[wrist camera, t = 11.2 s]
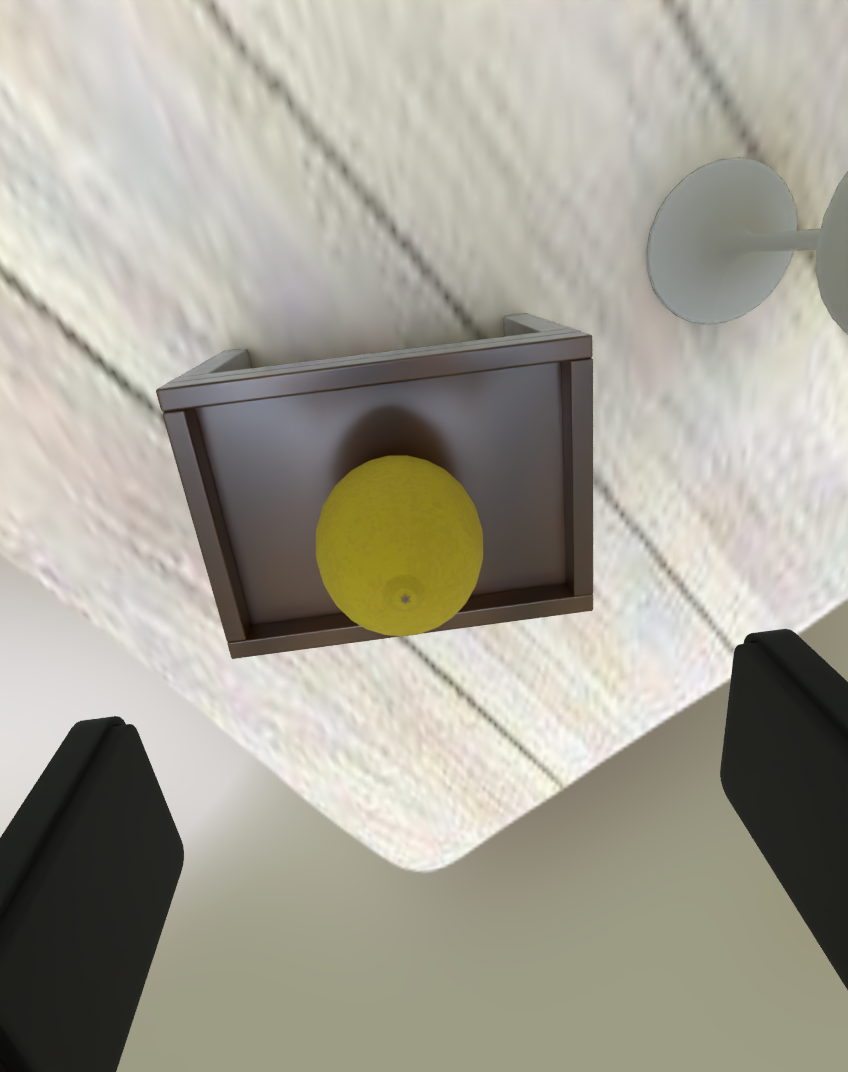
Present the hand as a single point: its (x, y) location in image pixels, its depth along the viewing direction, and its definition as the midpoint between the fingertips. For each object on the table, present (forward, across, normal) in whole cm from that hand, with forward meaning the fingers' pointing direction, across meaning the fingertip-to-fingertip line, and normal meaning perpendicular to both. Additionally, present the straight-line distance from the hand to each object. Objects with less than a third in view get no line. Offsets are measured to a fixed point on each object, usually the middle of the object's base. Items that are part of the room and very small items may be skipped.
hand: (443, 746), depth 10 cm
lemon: (+16, +1, +2) cm, 16 cm away
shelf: (+24, +1, +2) cm, 24 cm away
